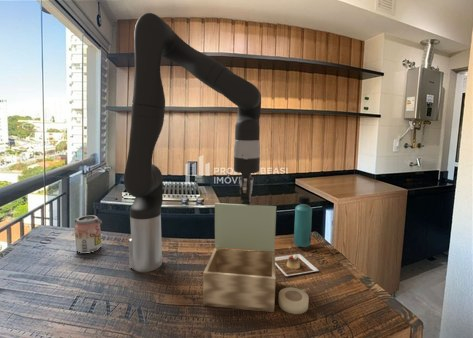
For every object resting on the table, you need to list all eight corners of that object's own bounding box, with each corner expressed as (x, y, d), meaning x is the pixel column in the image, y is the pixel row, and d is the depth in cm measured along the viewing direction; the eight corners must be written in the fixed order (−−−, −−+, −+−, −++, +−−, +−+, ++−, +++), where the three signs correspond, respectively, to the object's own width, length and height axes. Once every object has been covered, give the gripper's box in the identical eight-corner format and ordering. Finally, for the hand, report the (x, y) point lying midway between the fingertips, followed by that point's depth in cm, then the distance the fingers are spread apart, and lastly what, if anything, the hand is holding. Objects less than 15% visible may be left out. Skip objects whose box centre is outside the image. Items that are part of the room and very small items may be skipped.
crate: (203, 305, 70) (203, 272, 68) (214, 275, 83) (214, 248, 82) (274, 312, 68) (275, 278, 66) (273, 280, 81) (274, 252, 80)
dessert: (269, 261, 95) (269, 248, 94) (299, 256, 98) (300, 244, 97) (285, 279, 83) (286, 264, 83) (319, 273, 87) (320, 259, 86)
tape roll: (278, 312, 68) (279, 303, 67) (278, 294, 75) (278, 285, 75) (310, 315, 67) (310, 306, 66) (306, 296, 74) (306, 288, 74)
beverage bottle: (311, 252, 101) (314, 199, 98) (292, 250, 102) (295, 198, 99) (309, 244, 107) (313, 195, 104) (292, 242, 108) (295, 194, 105)
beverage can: (83, 243, 104) (81, 213, 102) (106, 243, 105) (104, 213, 103) (71, 255, 95) (69, 222, 93) (96, 254, 96) (94, 221, 94)
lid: (214, 203, 79) (215, 202, 80) (214, 247, 82) (215, 246, 83) (276, 207, 77) (276, 206, 78) (274, 251, 80) (274, 250, 81)
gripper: (236, 152, 86) (236, 205, 89) (231, 158, 73) (230, 219, 76) (260, 153, 85) (259, 206, 88) (259, 158, 72) (257, 221, 75)
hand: (245, 212), depth 82 cm, fingers closed
